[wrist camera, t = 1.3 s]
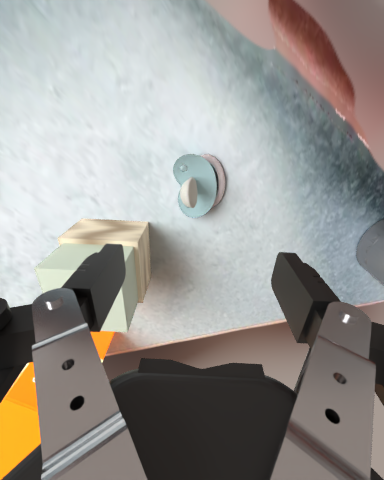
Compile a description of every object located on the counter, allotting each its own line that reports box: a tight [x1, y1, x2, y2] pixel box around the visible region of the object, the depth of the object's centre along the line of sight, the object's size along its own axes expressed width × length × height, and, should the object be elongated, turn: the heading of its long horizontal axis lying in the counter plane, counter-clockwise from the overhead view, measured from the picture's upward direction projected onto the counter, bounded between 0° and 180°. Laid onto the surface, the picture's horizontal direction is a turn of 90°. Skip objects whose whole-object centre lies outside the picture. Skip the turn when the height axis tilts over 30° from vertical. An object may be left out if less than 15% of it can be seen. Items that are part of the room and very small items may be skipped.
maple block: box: [58, 219, 151, 303], centre depth 29 cm, size 9×9×6 cm
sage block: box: [34, 243, 138, 332], centre depth 25 cm, size 8×8×5 cm
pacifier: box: [173, 154, 225, 218], centre depth 25 cm, size 7×6×6 cm
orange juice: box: [0, 331, 114, 480], centre depth 31 cm, size 8×9×20 cm
